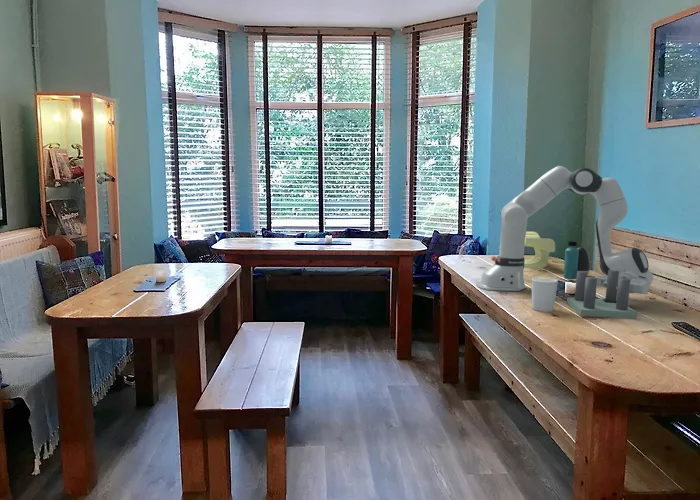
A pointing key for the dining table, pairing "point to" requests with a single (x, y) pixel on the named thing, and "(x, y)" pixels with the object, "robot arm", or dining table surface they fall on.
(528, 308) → the dining table surface
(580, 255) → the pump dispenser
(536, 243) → the pale yellow curved piece
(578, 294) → the stool seat
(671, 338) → the dining table surface
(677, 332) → the dining table surface
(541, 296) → the candle holder
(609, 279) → the stool leg
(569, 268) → the beverage bottle
